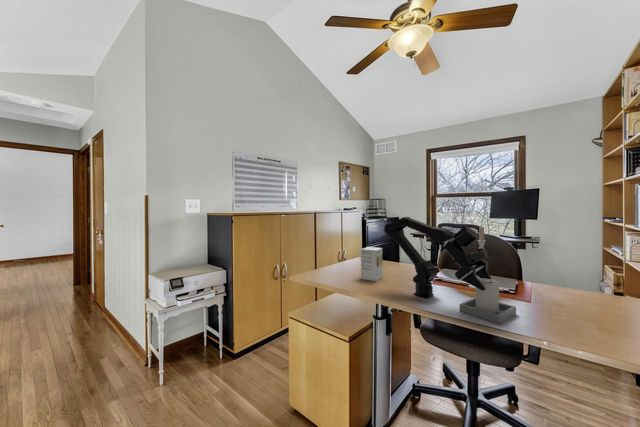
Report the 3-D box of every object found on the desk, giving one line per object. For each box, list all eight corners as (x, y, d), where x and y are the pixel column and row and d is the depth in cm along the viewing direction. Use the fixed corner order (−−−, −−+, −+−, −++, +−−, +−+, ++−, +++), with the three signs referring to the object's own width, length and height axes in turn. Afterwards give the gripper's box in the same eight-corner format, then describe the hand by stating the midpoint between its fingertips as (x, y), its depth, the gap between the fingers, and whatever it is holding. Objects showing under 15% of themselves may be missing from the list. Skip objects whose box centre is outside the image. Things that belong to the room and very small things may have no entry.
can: (498, 317, 98) (498, 284, 97) (474, 312, 102) (474, 281, 101) (499, 310, 104) (499, 279, 103) (476, 305, 108) (477, 276, 107)
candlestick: (461, 282, 140) (462, 225, 139) (486, 282, 140) (487, 224, 138) (474, 290, 127) (475, 227, 126) (502, 290, 127) (503, 227, 125)
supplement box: (376, 281, 144) (376, 250, 143) (360, 279, 149) (360, 249, 148) (382, 277, 152) (382, 247, 151) (367, 274, 157) (367, 246, 156)
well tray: (459, 311, 104) (459, 304, 104) (476, 303, 112) (476, 296, 112) (500, 325, 93) (500, 316, 93) (516, 314, 101) (516, 306, 101)
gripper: (464, 244, 99) (498, 281, 91) (483, 239, 111) (514, 270, 103) (442, 262, 105) (472, 297, 98) (462, 255, 117) (490, 286, 110)
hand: (488, 287), depth 102 cm, fingers open, 9 cm apart
